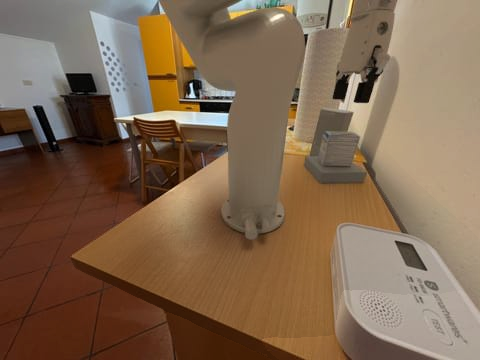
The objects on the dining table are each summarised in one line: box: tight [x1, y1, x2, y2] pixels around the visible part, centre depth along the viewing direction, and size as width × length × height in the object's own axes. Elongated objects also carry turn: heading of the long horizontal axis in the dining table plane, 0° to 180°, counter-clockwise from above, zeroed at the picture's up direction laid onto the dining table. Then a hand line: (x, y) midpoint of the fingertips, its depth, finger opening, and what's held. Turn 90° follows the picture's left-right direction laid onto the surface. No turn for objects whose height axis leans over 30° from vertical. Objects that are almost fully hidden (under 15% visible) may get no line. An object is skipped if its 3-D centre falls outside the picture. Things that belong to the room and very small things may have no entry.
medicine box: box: [318, 131, 361, 167], centre depth 53 cm, size 8×4×9 cm, turn 87°
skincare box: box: [309, 107, 354, 156], centre depth 65 cm, size 8×7×16 cm
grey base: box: [303, 155, 368, 184], centre depth 56 cm, size 12×12×3 cm
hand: (348, 100), depth 47 cm, fingers open, 9 cm apart
